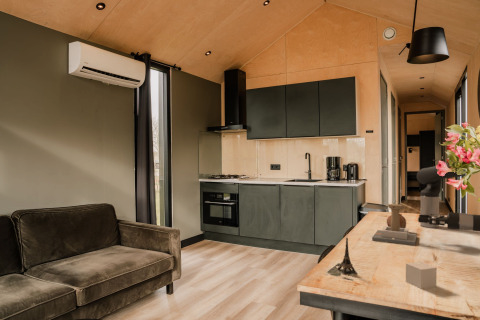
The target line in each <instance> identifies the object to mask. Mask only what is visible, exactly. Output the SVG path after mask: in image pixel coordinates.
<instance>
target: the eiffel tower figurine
mask: <svg viewBox="0 0 480 320" xmlns="http://www.w3.org/2000/svg"><path fill="white" fill-rule="evenodd" d="M344 250H345V252H344V255H343V259H342V262H337V264H335V265H333V267H332V268H330V269H328V271H327V272H326V273H327V274H329V275H331V276H335V277H340V276H342V275H343V276H345V275H347V276H348V275H358V273H357V271H356V270H355V268H354V267H353V264H352V262H351V259H350V254H349V238H348V237H346V238H345V249H344ZM337 267H338V268H337ZM342 279H343V280H348V281H349V280H350V281H353V279H352V278H347V277H342Z"/></svg>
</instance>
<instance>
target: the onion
mask: <svg viewBox="0 0 480 320" xmlns="http://www.w3.org/2000/svg"><path fill="white" fill-rule="evenodd" d="M399 220H400V228H406V227H407V220H406V218H405V216H403V214H402V213H399ZM386 225H387V227H391V215H389V216H388V217H387V218H386ZM406 229H407V228H406Z"/></svg>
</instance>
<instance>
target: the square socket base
mask: <svg viewBox="0 0 480 320" xmlns="http://www.w3.org/2000/svg"><path fill="white" fill-rule="evenodd" d="M417 238H418V234H417V233H409V228H400V229H399V232H397V231H391V227H388V226H385V225H384V227H382V229H381V230H379V229H378V230H377V231H376V232H375V233H374V234H373V235H372V237H371V239H372V240H371V241H374V242H381V243H382V242H383V243H389V244H397V245H407V246H416V242H417Z"/></svg>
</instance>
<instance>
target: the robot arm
mask: <svg viewBox="0 0 480 320" xmlns="http://www.w3.org/2000/svg"><path fill="white" fill-rule="evenodd" d="M445 162H446V163H447V162H448V161H445ZM436 166H437V165H434V166H430V167H429V166H428V167H424V168H421V169H419V170H418V171H417V173H416V179H417V181H418V182H419V183H420V184H422V185H426V187H425V188H424V189H422V190H421V191H420V208H419V209H420V213H419V214H418V217H417V218H418V219H417V221H418V223H420V227H424V228H434V229H435V228H439V226H442V227H443V226H447V229H448V230H453V231H454V230H455V231H467V232H469V231H472V232H480V214H471V213H463V212H450V211H449V212H447V214H446V215H447V216H445V215H444V214H440V193H441V190H442V179H443V180H444V179H454V178H459V177H463V176H465V175H457V174H456V173H454V172H448V173H446V174H445V176H443V177H442V176H439V175H438V174H437V169H436ZM447 166H448V167H449V165H448V163H447ZM449 168H450V167H449Z"/></svg>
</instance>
